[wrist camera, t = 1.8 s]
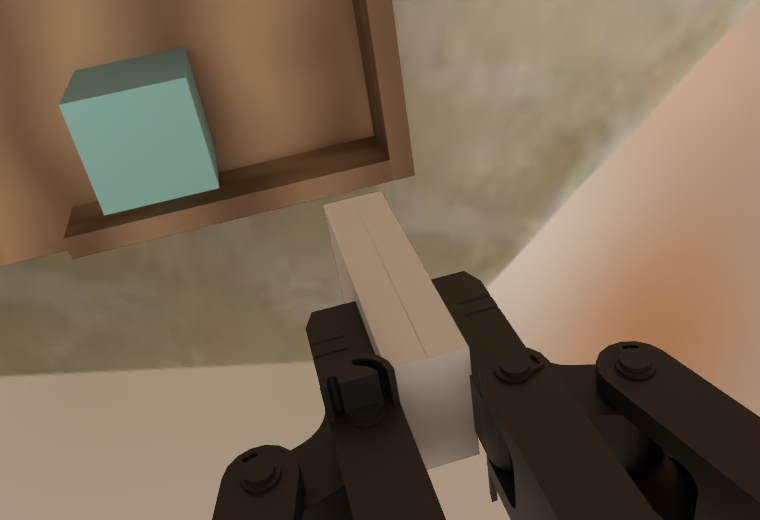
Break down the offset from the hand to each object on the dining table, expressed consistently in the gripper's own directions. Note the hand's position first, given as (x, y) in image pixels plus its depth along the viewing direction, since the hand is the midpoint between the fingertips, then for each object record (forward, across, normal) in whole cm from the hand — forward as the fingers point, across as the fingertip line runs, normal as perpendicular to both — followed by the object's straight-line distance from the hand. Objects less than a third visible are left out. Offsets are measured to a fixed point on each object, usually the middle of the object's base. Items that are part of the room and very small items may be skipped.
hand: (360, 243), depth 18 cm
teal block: (+15, -6, 0) cm, 16 cm away
